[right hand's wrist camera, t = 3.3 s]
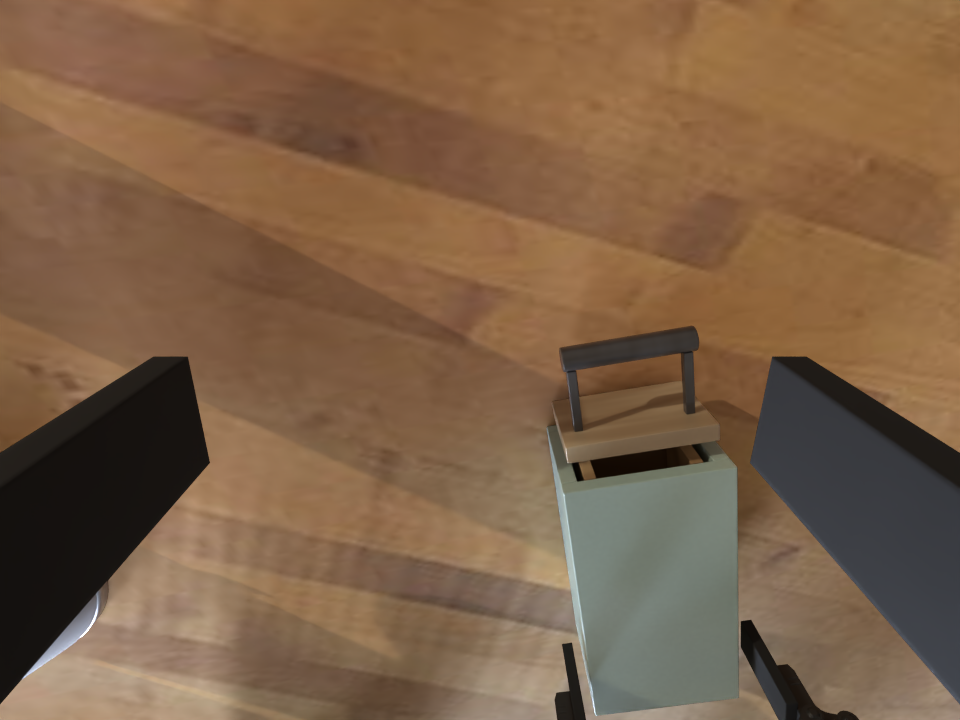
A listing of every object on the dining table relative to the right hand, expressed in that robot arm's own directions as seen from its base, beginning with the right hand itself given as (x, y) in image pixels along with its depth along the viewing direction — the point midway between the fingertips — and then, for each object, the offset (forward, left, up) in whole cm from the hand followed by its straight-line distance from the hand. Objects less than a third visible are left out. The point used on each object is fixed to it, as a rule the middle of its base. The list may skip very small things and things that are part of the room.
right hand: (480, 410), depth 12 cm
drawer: (-9, -19, -25) cm, 33 cm away
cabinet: (-13, -23, -26) cm, 37 cm away
